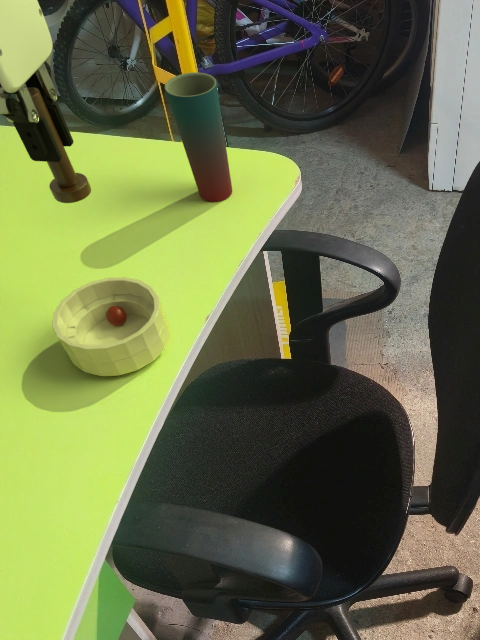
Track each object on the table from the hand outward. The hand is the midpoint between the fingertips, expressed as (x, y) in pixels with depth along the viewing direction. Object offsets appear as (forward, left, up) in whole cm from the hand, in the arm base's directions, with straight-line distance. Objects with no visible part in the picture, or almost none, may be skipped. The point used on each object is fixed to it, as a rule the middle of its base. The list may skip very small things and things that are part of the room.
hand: (52, 150), depth 60 cm
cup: (+6, +26, -20) cm, 33 cm away
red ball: (+2, -4, -18) cm, 18 cm away
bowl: (+3, -7, -20) cm, 21 cm away
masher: (0, 0, -5) cm, 5 cm away
